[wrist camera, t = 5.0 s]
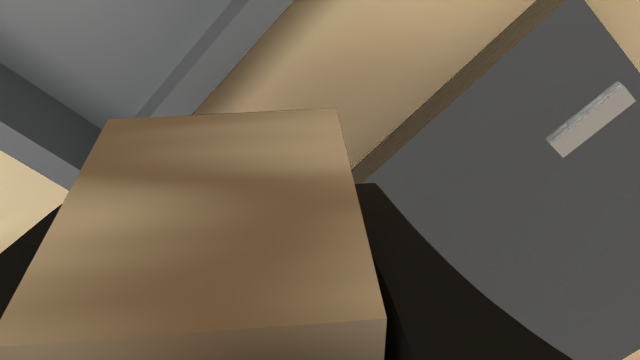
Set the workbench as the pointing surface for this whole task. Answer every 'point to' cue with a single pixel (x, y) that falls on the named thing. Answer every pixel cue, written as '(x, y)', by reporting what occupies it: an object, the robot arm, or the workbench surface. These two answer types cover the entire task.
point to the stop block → (205, 248)
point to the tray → (111, 68)
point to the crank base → (533, 178)
